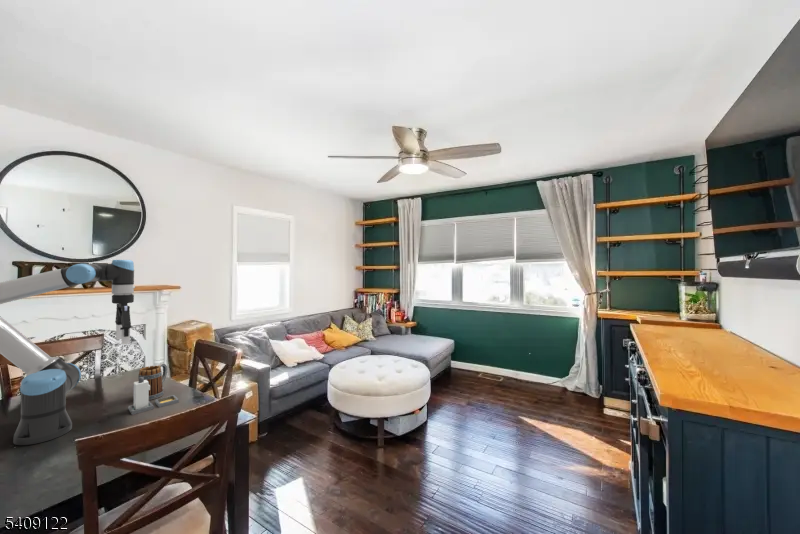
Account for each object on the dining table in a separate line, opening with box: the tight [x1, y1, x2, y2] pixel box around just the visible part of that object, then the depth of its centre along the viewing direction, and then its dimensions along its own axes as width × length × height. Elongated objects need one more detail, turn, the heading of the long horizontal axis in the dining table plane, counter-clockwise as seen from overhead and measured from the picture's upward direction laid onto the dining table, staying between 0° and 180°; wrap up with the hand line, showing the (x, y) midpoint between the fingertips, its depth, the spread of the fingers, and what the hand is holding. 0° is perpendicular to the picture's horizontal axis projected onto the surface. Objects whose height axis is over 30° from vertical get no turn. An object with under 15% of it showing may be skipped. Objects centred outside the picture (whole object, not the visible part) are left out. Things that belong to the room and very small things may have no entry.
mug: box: [137, 363, 168, 401], centre depth 161 cm, size 16×11×15 cm
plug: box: [133, 377, 150, 410], centre depth 146 cm, size 5×4×14 cm
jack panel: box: [127, 394, 180, 415], centre depth 149 cm, size 18×11×2 cm, turn 138°
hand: (122, 341), depth 147 cm, fingers open, 13 cm apart
